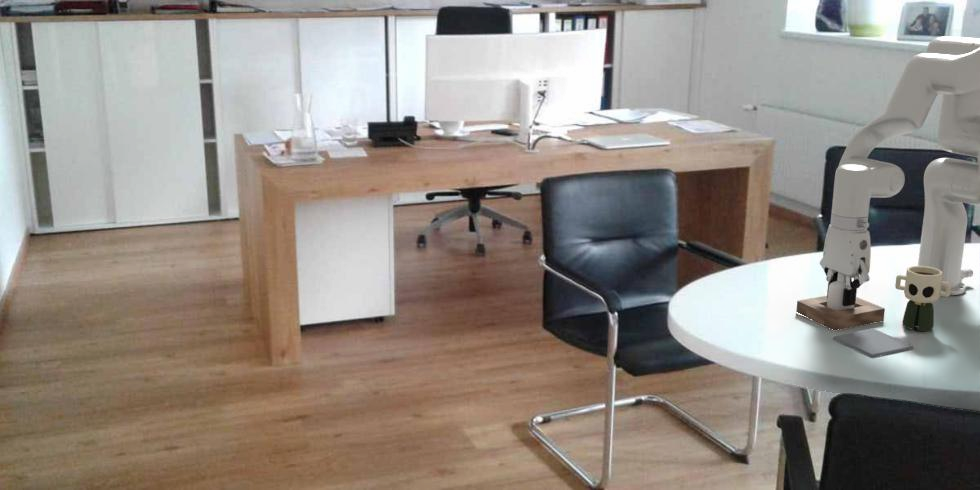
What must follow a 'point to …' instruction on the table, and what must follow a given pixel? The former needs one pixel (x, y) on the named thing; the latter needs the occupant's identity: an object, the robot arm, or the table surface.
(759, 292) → the table surface
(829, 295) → the eye dropper bottle
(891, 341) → the slate mat
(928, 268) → the character mug
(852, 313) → the walnut dock
